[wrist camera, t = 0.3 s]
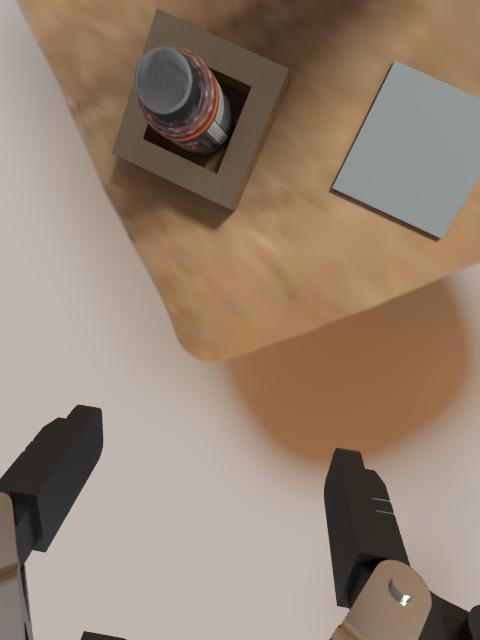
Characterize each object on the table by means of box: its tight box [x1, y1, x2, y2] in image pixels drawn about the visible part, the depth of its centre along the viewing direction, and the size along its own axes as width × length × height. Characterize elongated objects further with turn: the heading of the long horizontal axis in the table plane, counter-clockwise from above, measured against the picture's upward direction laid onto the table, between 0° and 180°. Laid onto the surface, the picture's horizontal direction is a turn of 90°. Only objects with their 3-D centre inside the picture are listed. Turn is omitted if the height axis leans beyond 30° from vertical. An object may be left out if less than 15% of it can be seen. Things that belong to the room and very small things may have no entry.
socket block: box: [112, 9, 290, 210], centre depth 34 cm, size 12×12×3 cm
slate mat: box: [332, 61, 480, 239], centre depth 33 cm, size 11×11×1 cm
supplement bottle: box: [135, 47, 233, 155], centre depth 30 cm, size 6×6×11 cm
